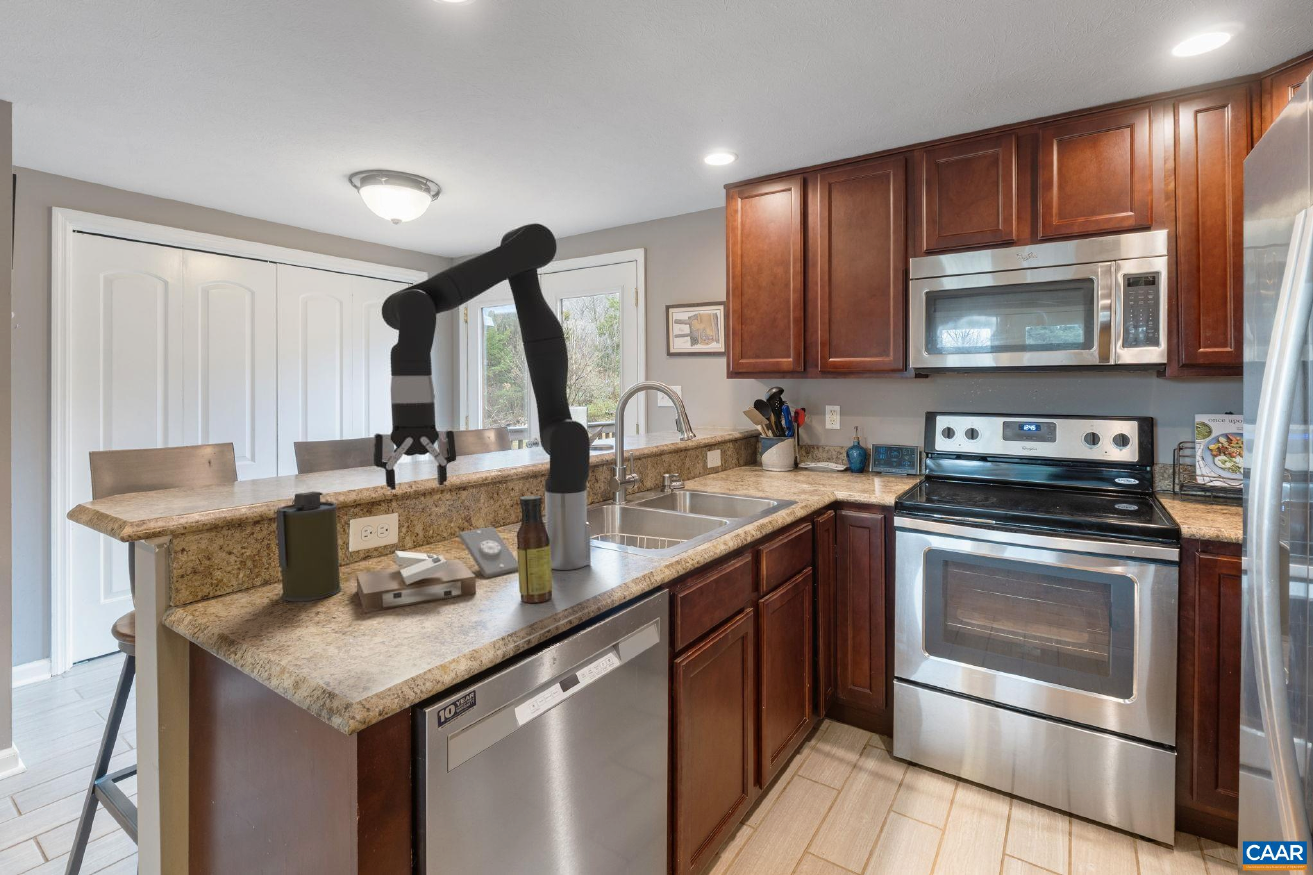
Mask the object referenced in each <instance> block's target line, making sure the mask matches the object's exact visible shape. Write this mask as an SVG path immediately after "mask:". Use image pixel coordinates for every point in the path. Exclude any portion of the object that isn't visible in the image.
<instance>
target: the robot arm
mask: <svg viewBox="0 0 1313 875" xmlns="http://www.w3.org/2000/svg"><path fill="white" fill-rule="evenodd" d="M557 245H558V244H557V241H556V237H555V235H554V234H553V232H552V231H551V229H550V228H548V226H546V225H544V224H541V223H538V222H531V223H526V224H523V225H520V226H518V227H516V228H513V229H511V230H508V231H507V232H506V233H505V234H504V235H503V236H502V238H501V241H500V245H499V246H497V247H495V248H493V249H491V250H489V251H486V252H484V253H481V254H479V255H476V256H473V257H472V258H468V259H465V260H462V261H461V262H458V263H456V264H455V265H452V266H450V267H448V268H446V269H444V270H442V271H440V272H438V273H436V274H434V275H433V276H431V277H429V278H428V279H426V280H424V281H422V282H418V283H416V284H412V285H411V286H408V287H406V288H403V289H400V290H398V291H396V292H394V293H392V294H390V295H389V296H388V297H387V298H385V300H384V302H383V303H382V306H381V317H382V319H383V321H384V322H385V323H386V325H388V326H389V327H390V328H391V329H394V330H397V331H398V339H397V343H396V344H394V345H393V346H392V348H391V350H390V358H389V359H390V375H391V376H390V377H391V378H390V379H391V380H390V381H391V382H390V404H391V407H390V408H391V422H392V423H391V424H392V426H391V427H392V428H391V433H389V434H387V433H386V434H385V433H384V434H383V433H375V434H373V435H374V436H373V465H374V466H375V467H377V468H381V469H384V470H385V485H386V486H387V488H389V490H391V491H394V490H395V491H396V474H395V473H396V472H395V471H396V470H395V469H394V468H395V466H396V464H397V463H398V461H400V460H401V458H402V457H403V455H404V456H407V457H410V456H416V455H419V456H425V455H426V454H428V453H429V455H430V456H431V457H432V458H433V459H434V460H435V462H437V465H436V470H437V471H436V473H437V484H438V486H444V485H445V483H447V481H448V473H447V472H448V470H447V466H448V465H449V464H451V463H453V462H456V461H457V450H456V443H455V442H456V441H455V433H454V431H453V430H450V429H446V430H444V431H443V430H442V431H438V430H437V426H436V407H435V406H436V405H435V402H436V401H435V400H436V393H435V386H434V381H433V371H432V370H433V368H432V356H431V353H432V349H433V344H434V338H435V333H436V327H437V315H438V314H441V313H444V312H449V311H451V310H454V309H456V308H459V307H460V306H462V305H464V304H465V303H467V302H469V301H471V300H473V299H474V298H476V297H478V296H480V295H481V294H483V293H484V292H485V293H486V291H488V290H490V289H491V288H493V287H495V286H496V285H498V284H500V283H502V282H504V281H505V280H508V283H509V287H510V290H511V294H512V298H513V301H514V306H515V311H516V314H517V321H518V324H519V328H520V333H521V334H520V335H521V340H522V347H523V350H524V356H525V359H526V360H525V361H526V365H527V368H528V373H529V379H530V382H531V386H532V391H533V393H534V394H533V395H534V398H535V402H536V409H537V410H536V411H537V421H538V430H539V440H540V445H541V447H542V449H543V452H545V453H546V454H547V455H548V456H549V471H548V472H549V473H548V475H547V477H546V478H545V480H544V495H545V496H544V497H545V498H544V502H545V503H544V504H545V528H546V531H547V534H548V537H549V539H550V553H551V570H560V571H570V570H576V569H581V568H584V567H586V566H589V565H591V564H592V563H591V562H592V561H591V560H592V559H591V557H592V556H591V554H592V553H591V552H592V551H591V524H590V522H588V520H587V517H588V516H587V482H588V480H589V476H590V459H591V458H590V457H591V456H590V454H591V449H590V448H591V442H590V436H589V431H588V430H587V429H586V427H585V426H584V425H583V424H582V423H580V422H579V421H577V420H573V417H572V414H571V411H570V410H571V409H570V405H569V401H568V394H567V385H568V375H569V353H568V349H567V348H568V347H567V343H566V337H565V333H564V328H563V326H562V324H561V323H560V320H559V319H558V317H557V316H556V314H555V312H554V311H553V310H552V309H551V307H550V306H549V304H548V302H547V301H546V298H545V297H544V294H543V292H542V289H541V284H540V280H539V273H538V269H541V268H545V266H547V265H548V264H550V263H551V262H552V261H553V259H554V258H555V256H556V254H557ZM439 438H441V441H442V442H444V443H445V447H446V448H445V449H446V456H443V455H442V454H441V452H439V451H438V449H437V448H436V447H435V444H436V442H437V441H438V440H439ZM389 441H391V443H392V444H393V445H394V446H395V449H394V450H393V451H392V452H391V454H390V456H389V457H388V459H387V460H383V450H384V449H383V447H385V446H387V444H388V442H389Z"/></svg>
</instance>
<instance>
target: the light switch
mask: <svg viewBox="0 0 1313 875" xmlns="http://www.w3.org/2000/svg"><path fill="white" fill-rule="evenodd" d="M458 538H459V539H460V541H461V542H462V544H463V545H464V547H465V548H466V550H467V552H468V554H469V555H470V557H471V558H472V560H473V561H474V562H475V564H476V566H477V568H478V569H479V570H480V572H481V574H482V575H483V577H484V578H486V579H488V578H492V577H496V576H500V575H506V574H509V573H515V572H518V559H517V558H516V557H515V555H514V554H513V553H512V552H511V549H510V548H509V547H508V546H507V545H506V543H505V541H504V540H503V539H502V537H501V535H500V534H499V532H497V530H496V529H495V527H494V526H489V527H483V528H477V529H472V530H471V529H470V530H465V531H460V532H459V533H458Z"/></svg>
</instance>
